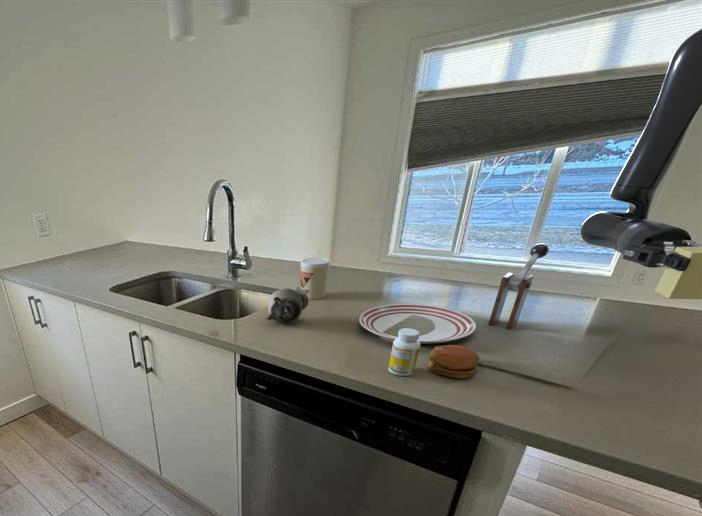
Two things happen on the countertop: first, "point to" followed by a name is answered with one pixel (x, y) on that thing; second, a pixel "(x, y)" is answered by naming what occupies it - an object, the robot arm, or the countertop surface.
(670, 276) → the butter
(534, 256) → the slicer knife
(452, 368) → the burger
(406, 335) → the supplement bottle
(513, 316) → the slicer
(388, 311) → the dinner plate
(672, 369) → the countertop surface
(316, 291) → the coffee cup
